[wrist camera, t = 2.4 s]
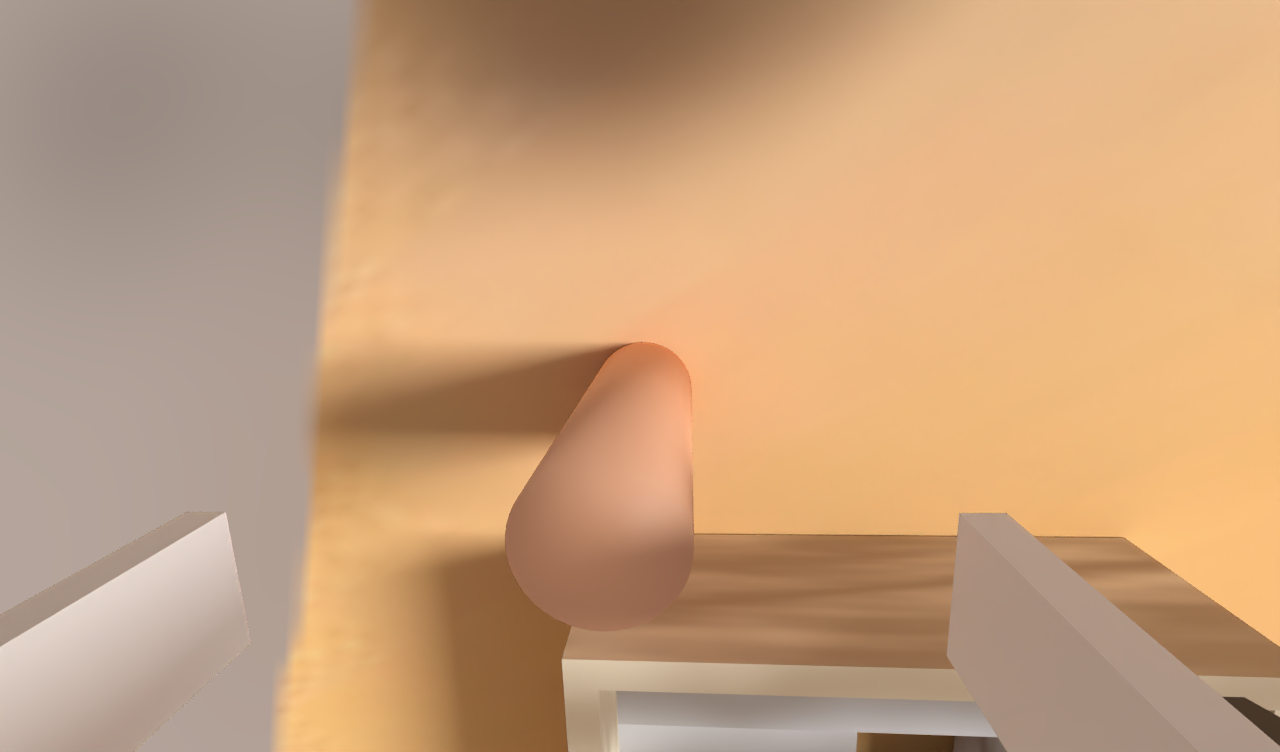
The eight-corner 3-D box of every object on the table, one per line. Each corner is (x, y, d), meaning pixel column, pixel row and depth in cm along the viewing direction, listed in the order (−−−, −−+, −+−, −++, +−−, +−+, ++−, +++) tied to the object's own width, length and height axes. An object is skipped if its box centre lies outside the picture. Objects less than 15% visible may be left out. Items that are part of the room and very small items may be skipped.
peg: (594, 343, 23) (497, 458, 11) (690, 341, 23) (692, 458, 11) (599, 434, 24) (512, 629, 12) (692, 433, 23) (694, 633, 12)
